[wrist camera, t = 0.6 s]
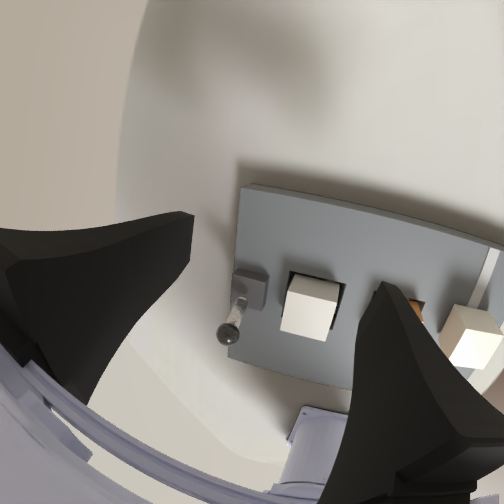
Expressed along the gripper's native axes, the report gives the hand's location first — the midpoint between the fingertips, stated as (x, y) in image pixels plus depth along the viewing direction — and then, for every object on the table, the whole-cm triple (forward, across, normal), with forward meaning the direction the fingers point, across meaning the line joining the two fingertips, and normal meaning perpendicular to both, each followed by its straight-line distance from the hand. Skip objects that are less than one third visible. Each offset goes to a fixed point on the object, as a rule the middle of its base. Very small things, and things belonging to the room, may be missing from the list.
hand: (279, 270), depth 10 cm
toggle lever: (+6, +2, +7) cm, 10 cm away
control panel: (+9, -7, +7) cm, 14 cm away
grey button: (+8, -2, +7) cm, 11 cm away
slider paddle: (+7, -14, +4) cm, 16 cm away
